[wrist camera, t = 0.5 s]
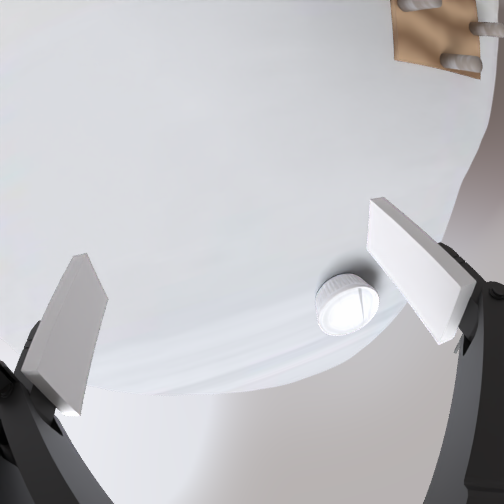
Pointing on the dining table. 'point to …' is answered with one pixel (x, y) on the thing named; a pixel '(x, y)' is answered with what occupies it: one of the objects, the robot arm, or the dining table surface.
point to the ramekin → (345, 304)
